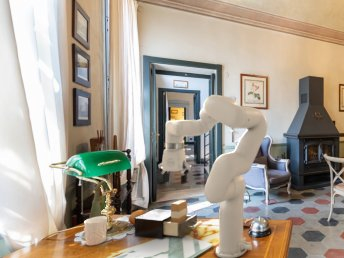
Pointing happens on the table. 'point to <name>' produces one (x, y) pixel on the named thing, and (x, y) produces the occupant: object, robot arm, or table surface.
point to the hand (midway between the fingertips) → (174, 182)
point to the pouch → (98, 201)
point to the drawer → (180, 226)
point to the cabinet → (152, 223)
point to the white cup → (95, 230)
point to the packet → (179, 211)
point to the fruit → (134, 215)
